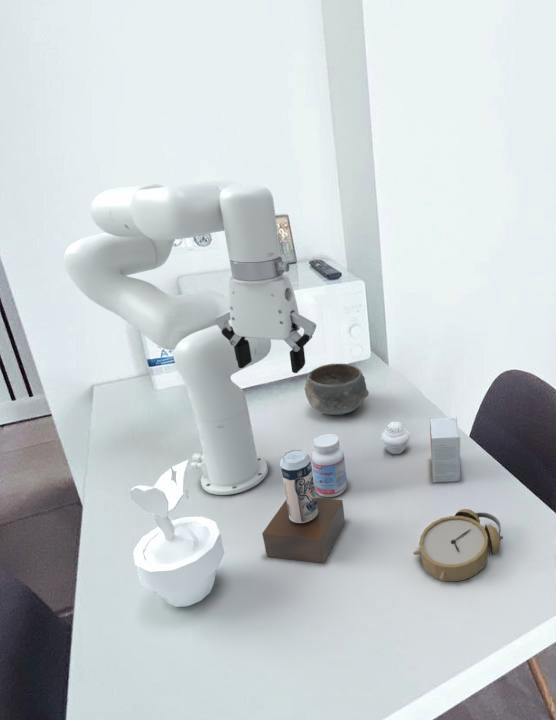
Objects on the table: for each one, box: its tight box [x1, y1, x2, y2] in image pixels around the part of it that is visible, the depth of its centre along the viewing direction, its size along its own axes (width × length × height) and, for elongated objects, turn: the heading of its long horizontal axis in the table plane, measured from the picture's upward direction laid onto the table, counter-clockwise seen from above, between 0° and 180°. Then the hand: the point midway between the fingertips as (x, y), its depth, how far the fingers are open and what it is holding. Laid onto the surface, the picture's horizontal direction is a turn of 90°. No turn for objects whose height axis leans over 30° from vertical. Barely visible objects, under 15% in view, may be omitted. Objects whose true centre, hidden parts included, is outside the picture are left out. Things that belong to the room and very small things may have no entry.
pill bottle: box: [311, 433, 348, 498], centre depth 105 cm, size 6×6×11 cm
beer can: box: [279, 449, 318, 523], centre depth 90 cm, size 5×5×12 cm
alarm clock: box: [412, 508, 504, 582], centre depth 90 cm, size 11×5×15 cm
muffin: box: [380, 421, 411, 455], centre depth 118 cm, size 6×6×7 cm
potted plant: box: [129, 459, 225, 608], centre depth 79 cm, size 13×12×25 cm
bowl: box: [304, 363, 370, 416], centre depth 134 cm, size 14×15×10 cm
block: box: [261, 497, 346, 564], centre depth 93 cm, size 10×10×5 cm
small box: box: [429, 416, 461, 483], centre depth 110 cm, size 8×6×10 cm
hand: (271, 367), depth 92 cm, fingers open, 9 cm apart
